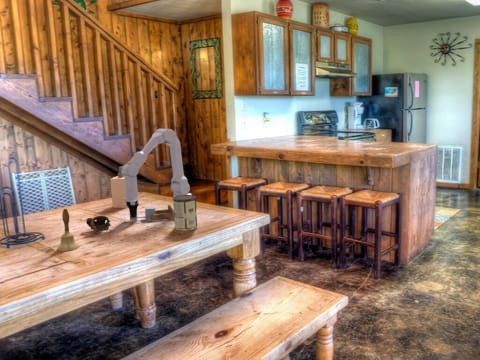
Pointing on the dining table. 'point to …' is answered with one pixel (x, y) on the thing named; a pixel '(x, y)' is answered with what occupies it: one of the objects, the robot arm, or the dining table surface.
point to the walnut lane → (162, 214)
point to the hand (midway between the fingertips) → (133, 216)
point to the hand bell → (67, 235)
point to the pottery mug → (98, 223)
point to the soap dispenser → (118, 190)
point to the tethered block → (147, 214)
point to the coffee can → (185, 212)
